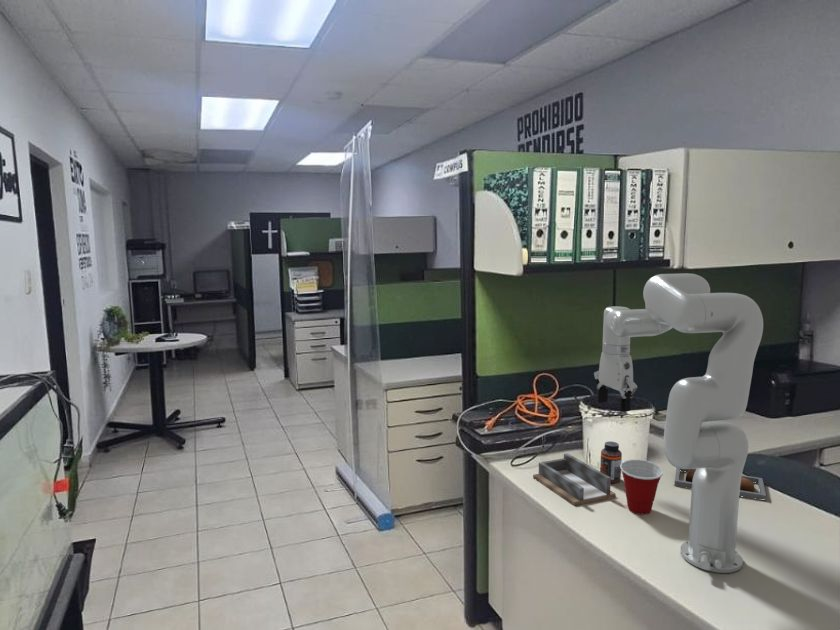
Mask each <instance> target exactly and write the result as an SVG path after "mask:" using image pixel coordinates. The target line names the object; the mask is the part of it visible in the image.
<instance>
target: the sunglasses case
mask: <svg viewBox="0 0 840 630" xmlns="http://www.w3.org/2000/svg"><path fill="white" fill-rule="evenodd" d="M695 471H696V470H691V471H688V472H687V473H686V474H685V479H684V481H687V482H692V480H693V476H694V473H695ZM754 484H755V483H753V482H752V481H750V480H748V479H746V478H743V477H741V484H740V490H742V491H748V492H755V491H756V489H755V488H756V487H755V485H754Z"/></svg>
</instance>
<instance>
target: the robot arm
mask: <svg viewBox="0 0 840 630" xmlns="http://www.w3.org/2000/svg"><path fill="white" fill-rule="evenodd" d="M642 295H643V301H644V303H645V306H644V307H645V308H637V309H631V308H629V307H625V306H619V305H618V306H616V305H615V306H607V307H606V308H605V309H604V311H603V327H602V349H601V351H602V352H601V355H600V359H599V364H598V365H599V367H598V370H597V371H594V372H593V375H594V379H595V380H594V382H595V384H596V389H597V403H600V404H601V403H607V402H608V400H609V399H608V397H609V389H608V388H611V389H613V390H616V391H618V392H619V394H620V396H621V397H620V398H619V399H620V400H619V401H620V402H619V411H620V412H621V413H625V412H630V411H631V403H632V401H631V400H632V398H633V397H634V395H635V394H636V391H637V389H638V385H637V383H635V381H634V368H633V367H634V365H633V359H632V355H630V352H631V338H636V337H654V336H658V335H662V334H663V333H666V332H668V331H670V330H671V329H675V330H676V331H678V332H680V333H684V334H702V333H703V334H704V333H721V332H722V336H721V337H720V338H719V339H718V340H717V342H715V344H714V345H713V347H712V349H711V351H710V353H709V356H708V359H707V360H708V361H707V367H706V372H705V374H704V375H703V376H695V377H694V376H693V377H692V376H691V377H685V378H681V379H679V380H678V381H676V383H675V384H673V386H672V388H671V390H670V392H669V395H668V400H667V406H666V415H665V422H664V430H663V431H664V432H663V452H664V455H665V458H666V459H667V461H668V463H669V464H670V465H671V466H673V467H674V468H679V469H696V468H697V469H696V471H695V473H694V476H693V480H692V489H691V494H690V495H691V496H690V509H689V510H690V511H689V526H688V540H686V541H684V542H683V543H681V545H680V554H681V557H682V558H683V559H684V560H685V561H686V562H688V563H689V564H691V565H692V566H695V567H697V568H699V569H702V570H703V571H708V572H713V573H718V574H729V573H735V572H737V571H739V570H741V569H742V567H743V564H744V563H743V557H742V555H741V554H740V553H739V552H738V551H736V548H737V533H738V520H739V518H738V517H739V504H740V497H739V496H740V484H741V476H742V475H743V471H744V467H745V463H746V461H747V457H748V455H749V440H748V437H747V435H746V433H745V431H744V430H743V429H742V428H741V427H740V426H739V425H737V424H735V423H731V422H728V420H734V419H738V418H740V417H742V415H744V413H745V412H746V409H747V406H748V401H749V396H750V389H751V384H752V377H753V372H754V371H753V369H754V364H755V363H754V362H755V359H756V355H757V352H758V349H759V346H760V343H761V341H762V337H763V331H764V318H763V314H762V311H761V309H760V306H759V305H758V304H757V302H755V300H754V299H752V298H751V297H749V296H748V295H745V294H742V293H741V294H740V293H735V292H711V287H710V284H709V282H708V281H707V279H705V278H704V277H702V276H701V275H698V274H696V273H660V274H655V275H654V276H652V277H650V278H648V280H647V281H646V283H645V284H644V287H643V292H642ZM726 420H727V421H726Z"/></svg>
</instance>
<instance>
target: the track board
mask: <svg viewBox="0 0 840 630" xmlns="http://www.w3.org/2000/svg"><path fill="white" fill-rule="evenodd" d="M532 478H533V479H534V480H535V479H536V480H535V481H537V482H538V483H540V484H541V485H543V486H544V487H545V488H548V489H549V490H550V491H551V492H553V493H554V494H556V495H558V497H561V498H562V499H563V500H564V501H566V502H568V503H569V504H570V505H572V506H573V507H575V506H579V505H583V504H584V505H585V504H588V503H593V502H597V501H598V502H599V501H602V500H607V499H612V498H616V497H617V495H616V494H617V493H615V492H614V491H612V490H611V484H612V483H611V477H609V476H607V475H605V474H604V473H602V472H600V470H598V469H596V468H594V467H593V466H591V465H589V464H587V463H586V462H584V461H582V460H580V459H578V458H577V457H575V456H573V455H571V454H570V453H567V452H566V453H563V458H559V459H552V460H546V461H542V462H538V473H536V474H535V473H534V474H533V475H532Z"/></svg>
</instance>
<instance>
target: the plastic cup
mask: <svg viewBox="0 0 840 630" xmlns="http://www.w3.org/2000/svg"><path fill="white" fill-rule="evenodd" d="M620 469H621V475H622V478H623V483H624V490H625V491H624V492H625V497H626V506H627V509H628V510H629V511H630V512H631V513H633V514H638V515H649V514H650V513H652V509H653V505H654V502H655V498H656V495H657V490H658V486H659V483H660V480H661V478H662V476H663V475H664V469H663V467H662V466H660V465H659V464H657V463H655V462H652V461H650V460H646V459H645V460H644V459H637V458H636V459H628V460H623V461H622V462H621V464H620Z"/></svg>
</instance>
